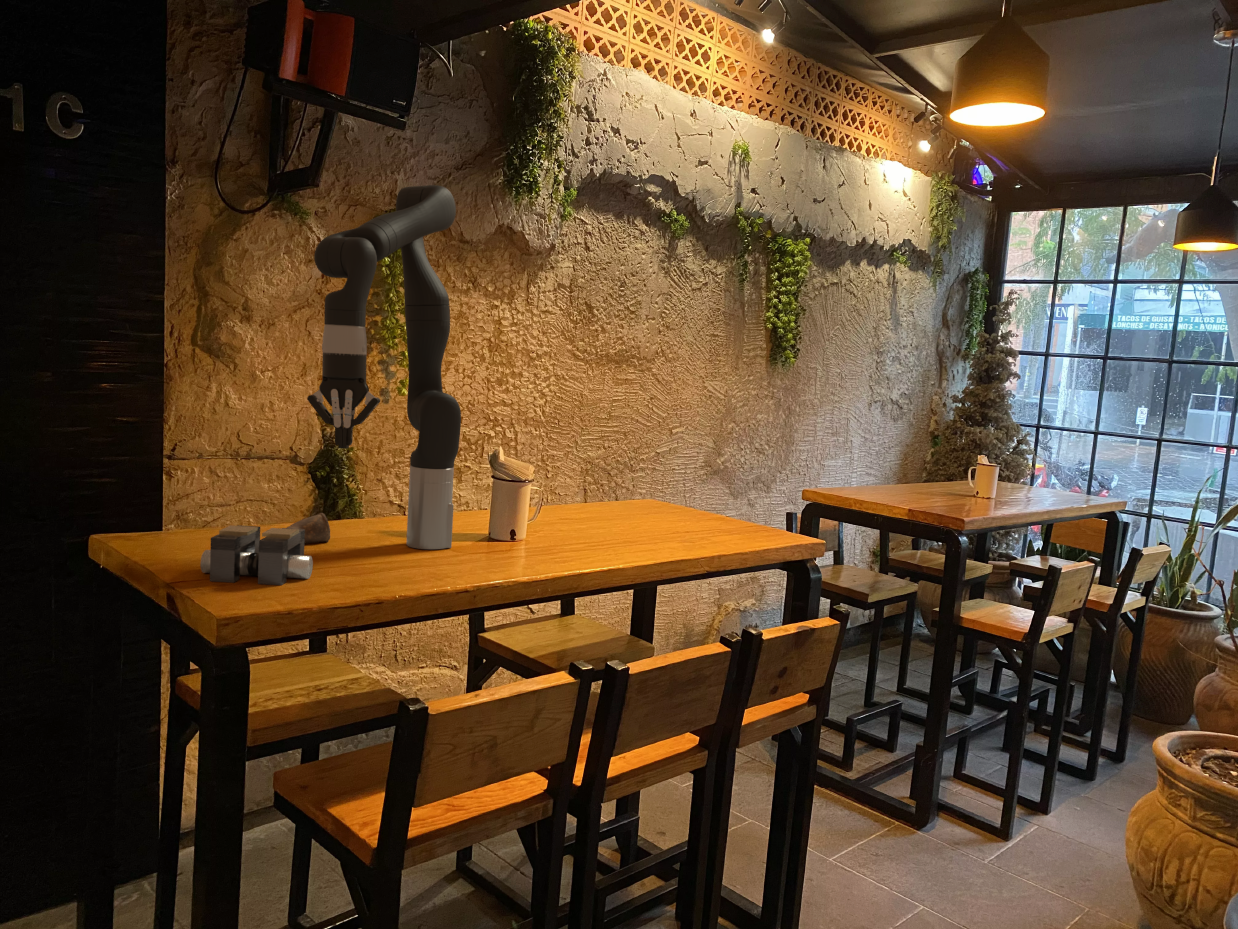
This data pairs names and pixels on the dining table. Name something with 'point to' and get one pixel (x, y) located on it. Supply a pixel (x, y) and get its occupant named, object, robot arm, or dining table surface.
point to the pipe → (314, 528)
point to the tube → (249, 561)
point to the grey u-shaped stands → (248, 540)
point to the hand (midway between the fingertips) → (343, 448)
